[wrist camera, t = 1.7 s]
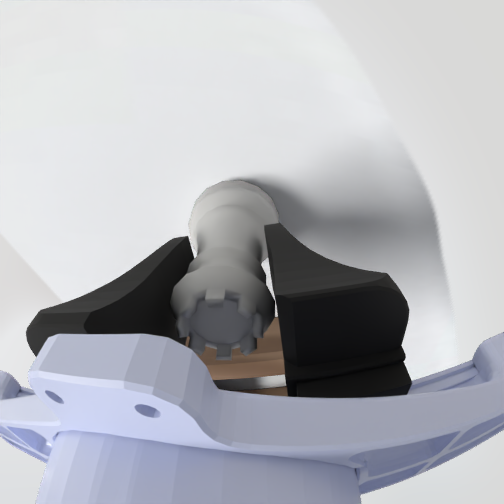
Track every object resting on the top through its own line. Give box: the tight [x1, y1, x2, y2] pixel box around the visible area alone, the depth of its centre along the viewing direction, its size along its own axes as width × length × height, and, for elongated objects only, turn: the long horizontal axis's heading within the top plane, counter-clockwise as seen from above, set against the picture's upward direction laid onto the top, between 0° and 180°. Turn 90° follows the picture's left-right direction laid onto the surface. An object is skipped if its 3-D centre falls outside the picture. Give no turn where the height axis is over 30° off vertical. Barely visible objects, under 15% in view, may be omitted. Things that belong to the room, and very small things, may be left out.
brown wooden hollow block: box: [185, 317, 288, 397], centre depth 19 cm, size 9×14×4 cm, turn 99°
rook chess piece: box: [170, 180, 279, 360], centre depth 11 cm, size 4×4×8 cm
